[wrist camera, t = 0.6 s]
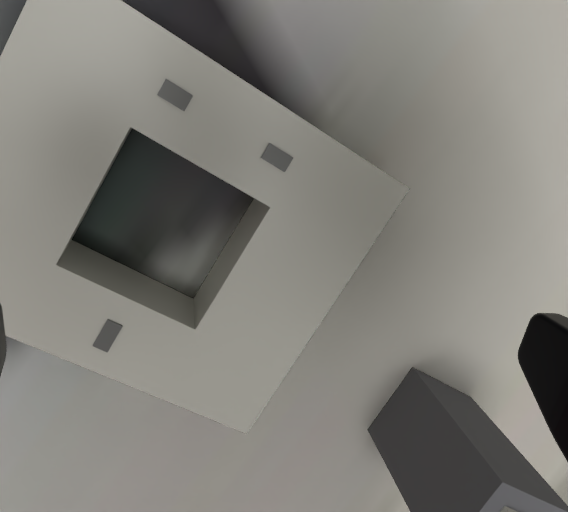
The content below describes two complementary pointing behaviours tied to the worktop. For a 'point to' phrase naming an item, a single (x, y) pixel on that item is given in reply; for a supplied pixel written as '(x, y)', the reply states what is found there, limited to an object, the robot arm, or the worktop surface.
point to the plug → (454, 454)
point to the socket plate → (204, 153)
